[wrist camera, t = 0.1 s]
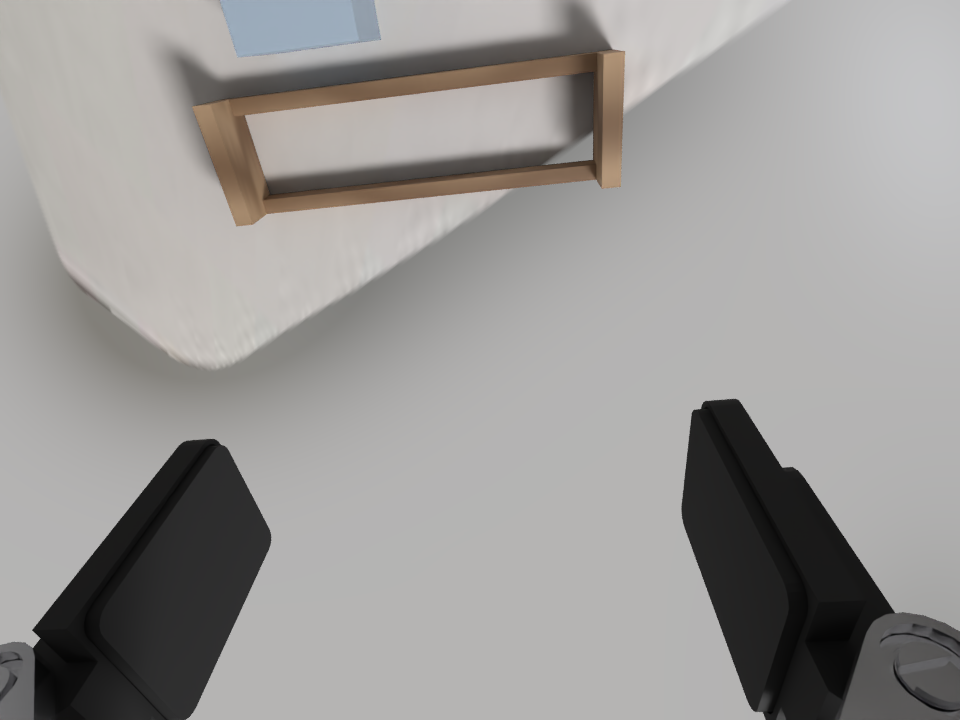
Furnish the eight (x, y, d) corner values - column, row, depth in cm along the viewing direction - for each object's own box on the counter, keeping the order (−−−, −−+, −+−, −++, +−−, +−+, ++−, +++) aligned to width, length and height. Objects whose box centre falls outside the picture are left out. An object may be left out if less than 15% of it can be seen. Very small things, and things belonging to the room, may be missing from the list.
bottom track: (221, 99, 35) (192, 106, 32) (612, 49, 33) (624, 51, 29) (259, 209, 39) (236, 226, 36) (610, 172, 37) (620, 186, 33)
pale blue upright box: (256, -22, 32) (209, -32, 27) (367, -39, 31) (340, -52, 26) (277, 53, 34) (237, 57, 29) (381, 39, 33) (359, 40, 28)
